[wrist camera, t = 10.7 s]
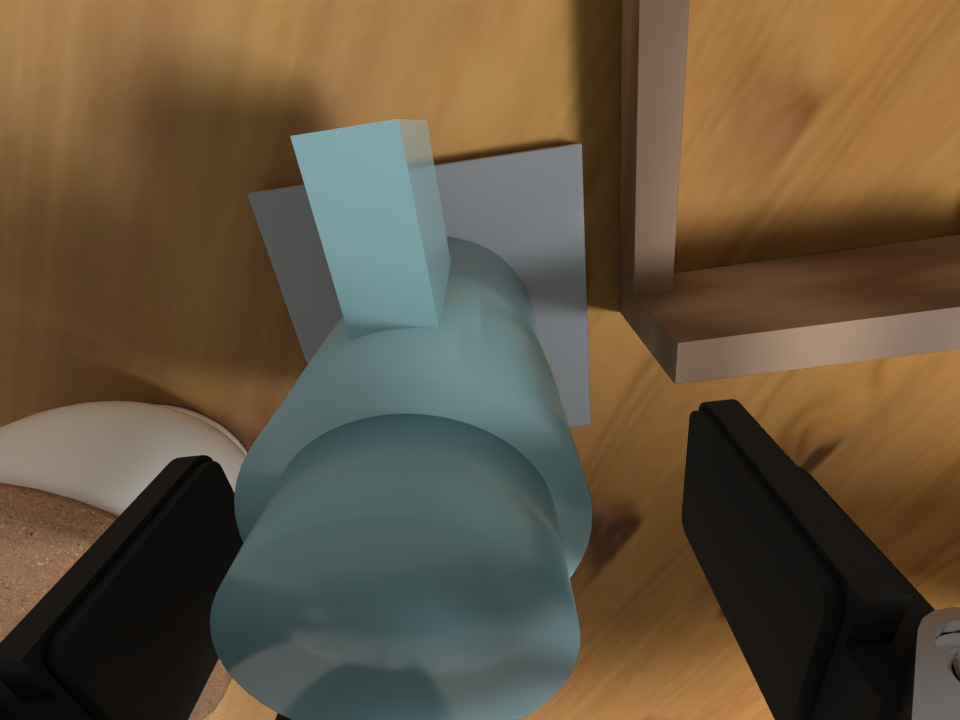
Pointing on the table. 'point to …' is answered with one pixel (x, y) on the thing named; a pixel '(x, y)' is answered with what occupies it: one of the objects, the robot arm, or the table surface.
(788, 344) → the cradle
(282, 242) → the coaster
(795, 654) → the robot arm
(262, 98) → the table surface
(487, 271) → the jug
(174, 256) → the table surface
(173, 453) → the lidded jar
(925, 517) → the table surface
